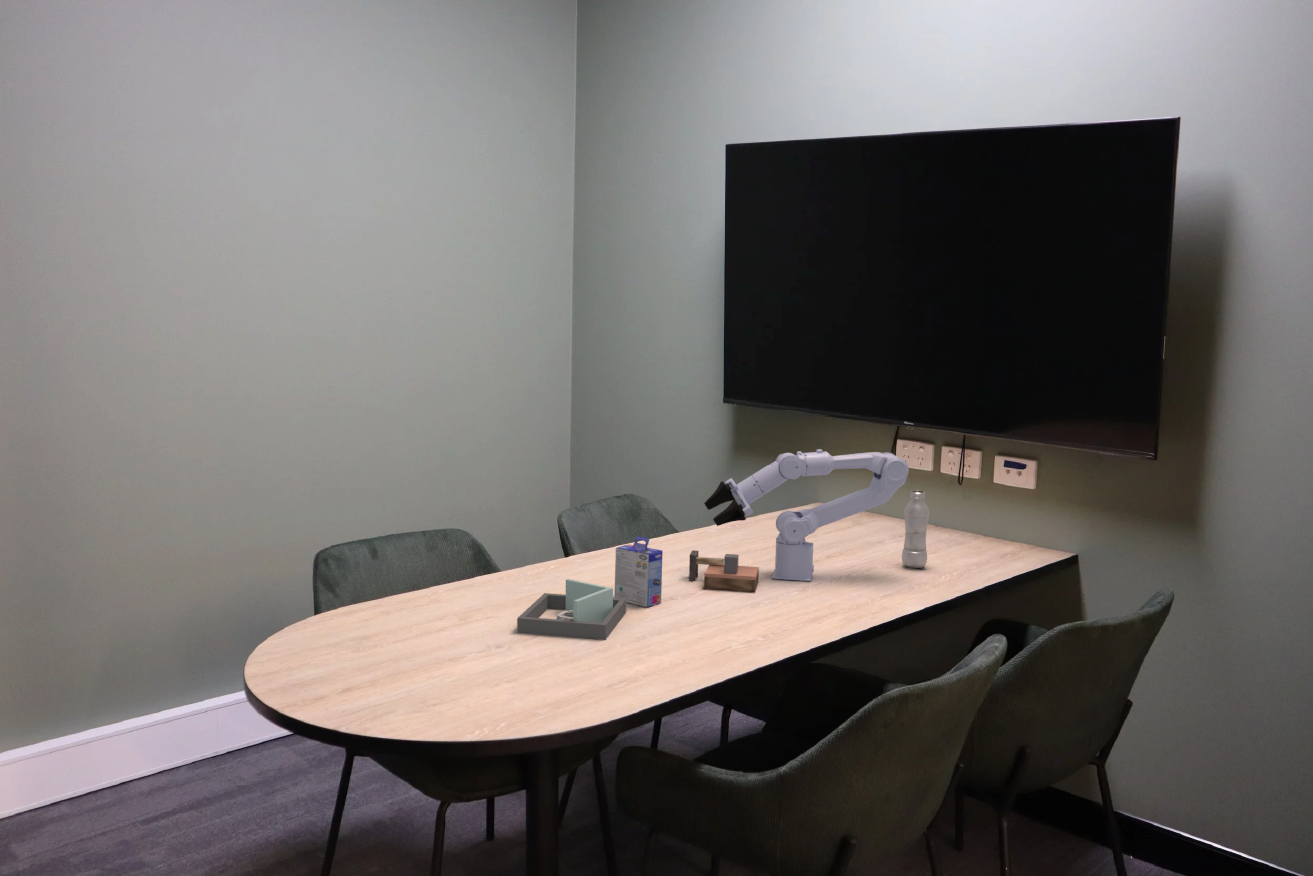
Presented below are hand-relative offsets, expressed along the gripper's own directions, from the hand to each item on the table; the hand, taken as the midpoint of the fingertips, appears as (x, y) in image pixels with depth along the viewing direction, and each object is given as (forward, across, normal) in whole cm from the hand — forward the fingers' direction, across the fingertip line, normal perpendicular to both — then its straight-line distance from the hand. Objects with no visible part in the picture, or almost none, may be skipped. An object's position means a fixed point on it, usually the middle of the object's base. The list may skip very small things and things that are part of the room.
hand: (710, 514), depth 246 cm
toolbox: (+6, +13, +10) cm, 17 cm away
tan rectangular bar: (+7, +7, +7) cm, 12 cm away
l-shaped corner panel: (+36, +33, -18) cm, 52 cm away
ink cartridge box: (+24, +22, -6) cm, 32 cm away
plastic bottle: (-37, +8, +43) cm, 57 cm away
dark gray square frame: (+35, +32, -19) cm, 51 cm away
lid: (+3, +13, +9) cm, 17 cm away
